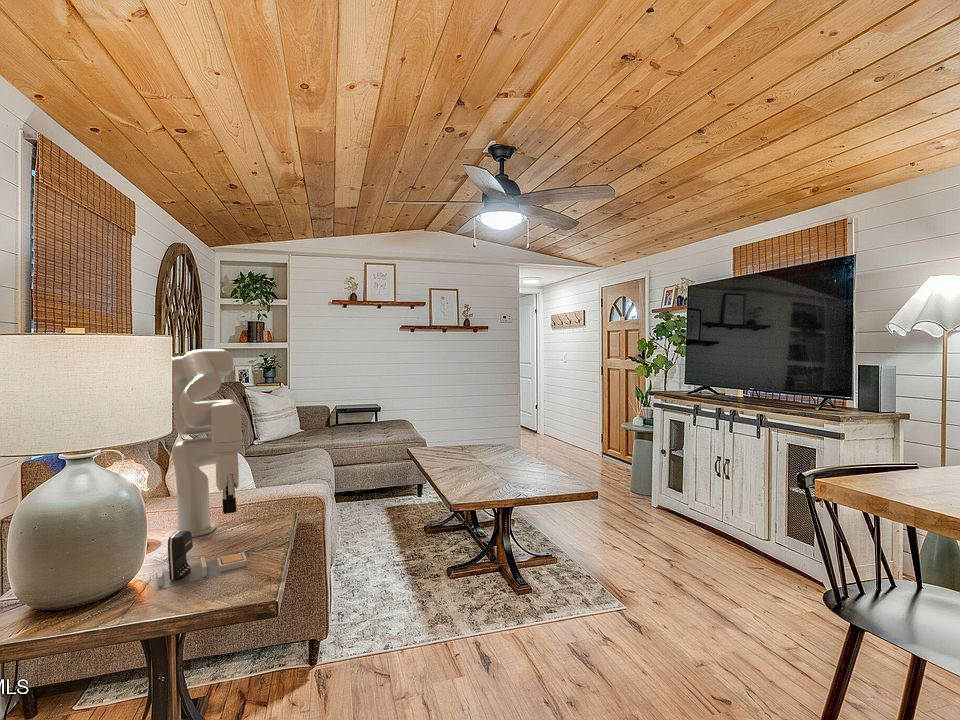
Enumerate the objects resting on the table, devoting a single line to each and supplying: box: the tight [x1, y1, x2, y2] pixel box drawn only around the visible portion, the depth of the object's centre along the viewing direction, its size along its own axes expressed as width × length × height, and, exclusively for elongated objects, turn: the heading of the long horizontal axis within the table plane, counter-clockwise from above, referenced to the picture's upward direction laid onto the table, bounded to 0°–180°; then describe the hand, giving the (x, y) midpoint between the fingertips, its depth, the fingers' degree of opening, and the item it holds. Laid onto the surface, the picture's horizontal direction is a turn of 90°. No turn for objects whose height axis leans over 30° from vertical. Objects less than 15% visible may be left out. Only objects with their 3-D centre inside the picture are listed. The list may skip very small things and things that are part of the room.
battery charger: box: [167, 531, 194, 580], centre depth 136 cm, size 7×4×11 cm, turn 8°
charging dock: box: [155, 551, 252, 591], centre depth 139 cm, size 12×22×4 cm, turn 122°
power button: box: [221, 552, 243, 565], centre depth 142 cm, size 5×5×1 cm
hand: (229, 512), depth 142 cm, fingers closed
